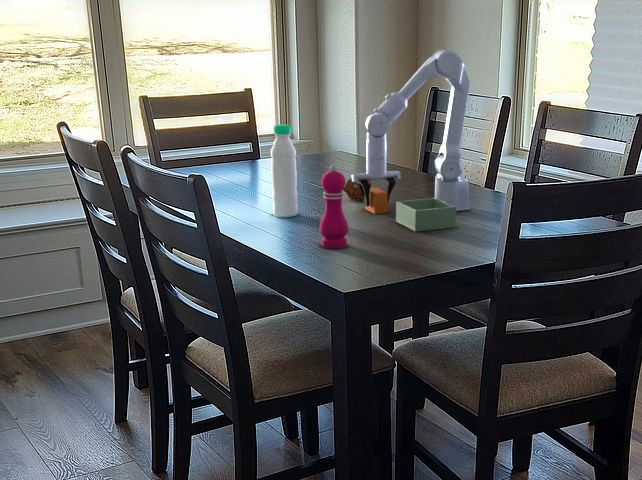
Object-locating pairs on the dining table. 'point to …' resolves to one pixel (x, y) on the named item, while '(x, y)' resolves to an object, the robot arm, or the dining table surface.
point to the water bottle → (284, 173)
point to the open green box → (425, 214)
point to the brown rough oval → (354, 190)
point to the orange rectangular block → (377, 201)
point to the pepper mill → (333, 210)
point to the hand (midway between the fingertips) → (376, 205)
